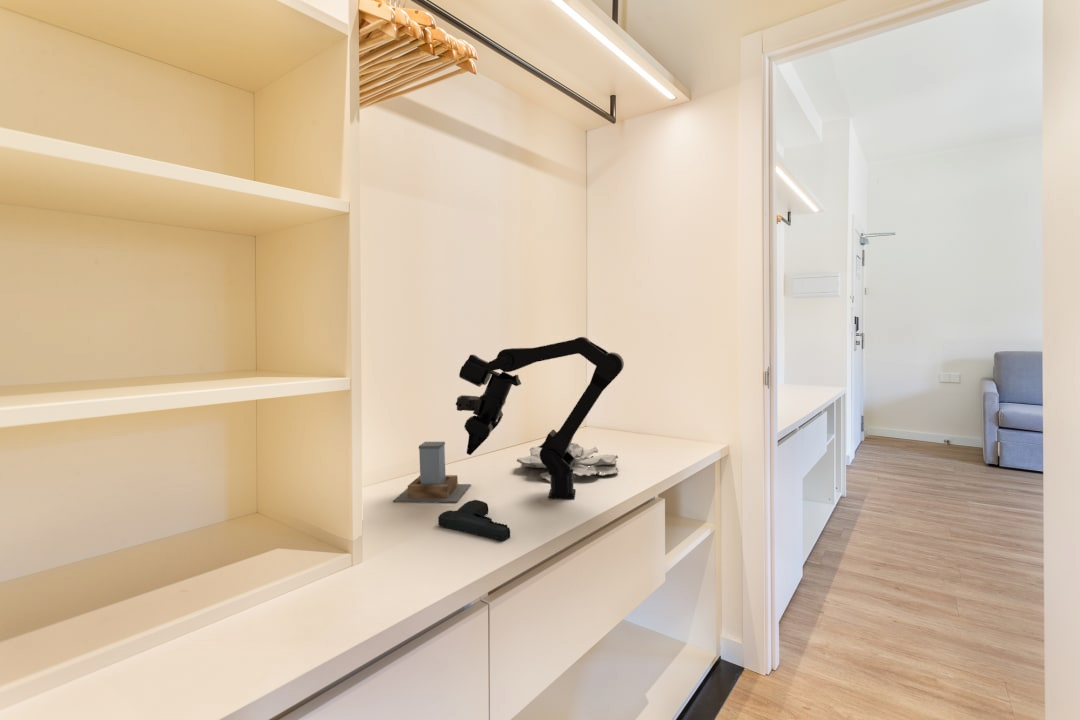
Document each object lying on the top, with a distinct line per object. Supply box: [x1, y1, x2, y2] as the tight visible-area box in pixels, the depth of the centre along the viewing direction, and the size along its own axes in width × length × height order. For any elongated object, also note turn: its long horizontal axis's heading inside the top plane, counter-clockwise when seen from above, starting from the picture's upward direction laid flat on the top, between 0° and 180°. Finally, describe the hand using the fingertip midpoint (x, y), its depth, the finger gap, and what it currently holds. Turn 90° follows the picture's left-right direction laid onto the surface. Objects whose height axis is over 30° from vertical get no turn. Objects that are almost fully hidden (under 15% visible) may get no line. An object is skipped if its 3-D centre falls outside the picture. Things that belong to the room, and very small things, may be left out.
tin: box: [418, 441, 446, 484], centre depth 133 cm, size 5×5×12 cm
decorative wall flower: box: [516, 442, 619, 483], centre depth 155 cm, size 30×7×30 cm
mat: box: [392, 483, 472, 504], centre depth 134 cm, size 16×14×1 cm
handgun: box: [437, 499, 511, 543], centre depth 111 cm, size 3×17×12 cm
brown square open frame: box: [407, 474, 459, 498], centre depth 133 cm, size 10×10×3 cm
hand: (472, 449), depth 134 cm, fingers open, 9 cm apart
